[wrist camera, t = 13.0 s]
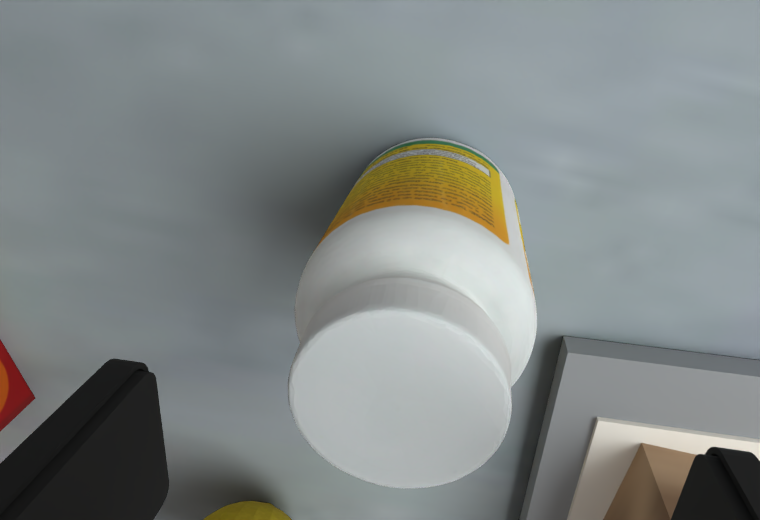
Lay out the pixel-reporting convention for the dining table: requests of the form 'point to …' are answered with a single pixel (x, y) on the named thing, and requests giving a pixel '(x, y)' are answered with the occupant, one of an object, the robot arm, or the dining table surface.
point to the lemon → (248, 512)
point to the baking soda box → (11, 389)
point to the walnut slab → (651, 484)
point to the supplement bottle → (414, 319)
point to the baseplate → (632, 419)
